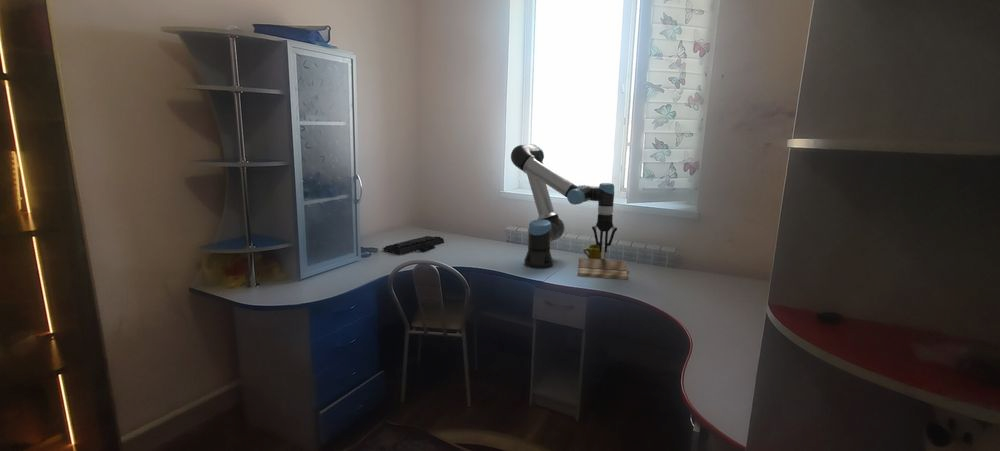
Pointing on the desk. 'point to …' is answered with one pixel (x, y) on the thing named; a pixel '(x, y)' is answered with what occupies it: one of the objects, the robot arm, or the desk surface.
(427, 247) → the black gun
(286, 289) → the desk surface
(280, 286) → the desk surface
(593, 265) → the plank
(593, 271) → the floor strip
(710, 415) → the desk surface
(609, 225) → the robot arm
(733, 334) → the desk surface
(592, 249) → the mug
